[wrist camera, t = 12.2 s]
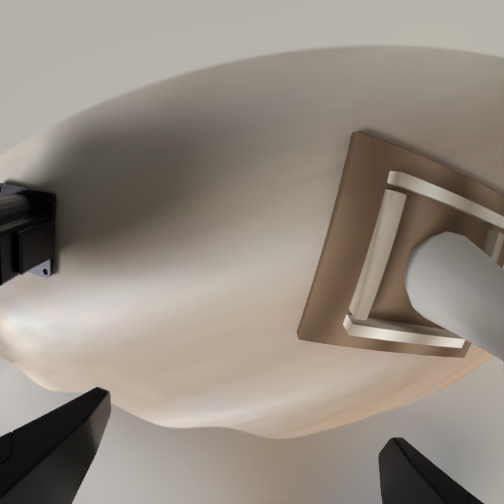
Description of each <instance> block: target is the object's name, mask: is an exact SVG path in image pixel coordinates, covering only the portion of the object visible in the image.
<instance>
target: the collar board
mask: <svg viewBox="0 0 504 504" xmlns="http://www.w3.org/2000/svg"><path fill="white" fill-rule="evenodd" d="M443 232H452V233H456V234H459V235H462V236H465V237H467V238H468V239H469V240H470V241H471V242H473V243H474V244H475V245H476V246H477V247H479V248H480V249H481V250H482V251H483V252H484V253H486V254H487V255H488V256H489V257H490V258H491V259H492V260H493V261H495V262H496V263H497V264H498V265H499V266H500V267H501V268H502V267H503V264H504V196H502V195H500V194H498V193H497V192H495V191H493V190H491V189H489V188H487V187H486V186H484V185H482V184H480V183H478V182H476V181H474V180H472V179H470V178H468V177H466V176H464V175H462V174H460V173H458V172H456V171H454V170H452V169H449V168H447V167H445V166H443V165H441V164H439V163H436V162H434V161H432V160H430V159H427V158H425V157H423V156H420V155H418V154H415V153H413V152H411V151H408V150H406V149H403V148H401V147H398V146H396V145H393V144H390V143H388V142H385V141H382V140H380V139H377V138H374V137H371V136H369V135H366V134H363V133H360V132H354V133H352V136H351V140H350V145H349V149H348V154H347V158H346V162H345V166H344V170H343V174H342V179H341V183H340V187H339V191H338V194H337V198H336V202H335V206H334V210H333V214H332V217H331V221H330V225H329V228H328V232H327V236H326V239H325V243H324V246H323V250H322V253H321V257H320V260H319V263H318V267H317V270H316V274H315V277H314V280H313V283H312V287H311V290H310V293H309V296H308V299H307V303H306V306H305V309H304V312H303V315H302V318H301V321H300V324H299V327H298V330H297V335H298V338H299V340H305V341H311V342H318V343H325V344H331V345H338V346H346V347H353V348H361V349H369V350H378V351H387V352H396V353H407V354H418V355H430V356H443V357H460V358H464V357H465V355H466V353H467V351H468V349H469V347H470V345H471V342H469V341H467V340H465V339H463V338H461V337H460V336H458V335H456V334H454V333H452V332H450V331H448V330H447V329H445V328H443V327H441V326H439V325H437V324H435V323H434V322H432V321H430V320H428V319H426V318H424V317H423V316H422V315H421V314H420V313H419V312H418V311H416V310H415V309H414V308H413V306H412V304H411V302H410V299H409V296H408V293H407V291H406V287H405V281H404V271H405V268H406V264H407V261H408V257H409V254H410V250H411V249H412V248H413V247H415V246H417V245H418V244H420V243H422V242H423V241H425V240H426V239H428V238H430V237H431V236H434V235H437V234H440V233H443Z"/></svg>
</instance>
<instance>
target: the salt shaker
mask: <svg viewBox="0 0 504 504" xmlns="http://www.w3.org/2000/svg"><path fill="white" fill-rule="evenodd" d="M404 281H405V287H406V291H407V293H408V296H409V299H410V302H411V304H412V306H413V308H414V309H415V310H416V311H418V312H419V313H420V314H421V315H422V316H423V317H424V318H426V319H428V320H430V321H432V322H434V323H435V324H437V325H439V326H441V327H443V328H445V329H447V330H448V331H450V332H452V333H454V334H456V335H458V336H460V337H461V338H463V339H465V340H467V341H469V342H471V343H472V344H474V345H476V346H478V347H480V348H481V349H483V350H485V351H487V352H489V353H491V354H492V355H494V356H496V357H498V358H500V359H501V360H503V361H504V270H503V269H502V268H501V267H500V266H499V265H498V264H497V263H496V262H495V261H493V260H492V259H491V258H490V257H489V256H488V255H487V254H486V253H484V252H483V251H482V250H481V249H480V248H479V247H477V246H476V245H475V244H474V243H473V242H471V241H470V240H469V239H468V238H467V237H465V236H462V235H459V234H456V233H452V232H443V233H440V234H437V235H434V236H431V237H430V238H428V239H426V240H425V241H423V242H422V243H420V244H418V245H417V246H415V247H413V248H412V249H411V250H410V254H409V257H408V261H407V264H406V268H405V271H404Z"/></svg>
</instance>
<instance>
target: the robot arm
mask: <svg viewBox="0 0 504 504" xmlns="http://www.w3.org/2000/svg"><path fill="white" fill-rule="evenodd" d="M1 188H2V191H1ZM49 197H50V198H51V201H50V202H49ZM55 209H56V195H55V194H54V193H53V192H49V191H44V190H39V189H33V188H28V187H23V186H17V185H12V184H6V183H0V285H3V284H4V283H6V282H8V281H9V280H11V279H13V278H15V277H16V276H18V275H23V274H24V273H26V272H30V273H32V274H35V275H38V276H41V277H44V278H48V277H50V276H52V274H53V256H54V234H55V223H54V222H55ZM46 269H47V271H48V273H47V272H46ZM110 413H111V399H110V392H109V391H108V390H105V389H102V388H100V387H96V388H94V389H92V390H90V391H88V392H86V393H85V394H83V395H81V396H79V397H77V398H75V399H74V400H72V401H70V402H68V403H66V404H64V405H62V406H60V407H58V408H56V409H55V410H53V411H51V412H49V413H47V414H45V415H43V416H41V417H39V418H37V419H35V420H33V421H31V422H29V423H28V424H25V425H24V426H22V427H20V428H18V429H16V430H14V431H13V432H9V433H7V434H5V435H3V436H1V437H0V504H72V502H73V500H74V498H75V496H76V494H77V491H78V489H79V487H80V485H81V483H82V481H83V479H84V477H85V475H86V473H87V471H88V469H89V467H90V465H91V463H92V461H93V459H94V457H95V455H96V453H97V450H98V447H99V444H100V441H101V439H102V436H103V433H104V430H105V428H106V425H107V422H108V419H109V417H110ZM378 460H379V472H380V486H381V496H382V502H383V504H484V503H482V502H481V501H480V500H478V499H477V498H476V497H474V496H473V495H472V494H471V493H469V492H467V490H465V489H464V488H463V487H462V486H460V485H459V484H458V483H457V482H455V481H454V480H453V479H451V478H450V477H449V476H448V475H447V474H445V473H444V472H443V471H442V470H441V469H439V468H438V467H437V466H435V465H434V464H433V463H432V462H431V461H430V460H428V459H427V458H426V457H425V456H424V455H422V454H421V453H420V452H419V451H418V450H416V449H415V448H414V447H413V446H412V445H411V444H409V443H408V442H407V441H406V440H405V439H403V438H401V437H399V438H398V437H397V438H391V439H390V440H389V441H388V442H387V444H386V445H385V446H384V448H383V449H382V450H381V452H380V453H379V458H378Z"/></svg>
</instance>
